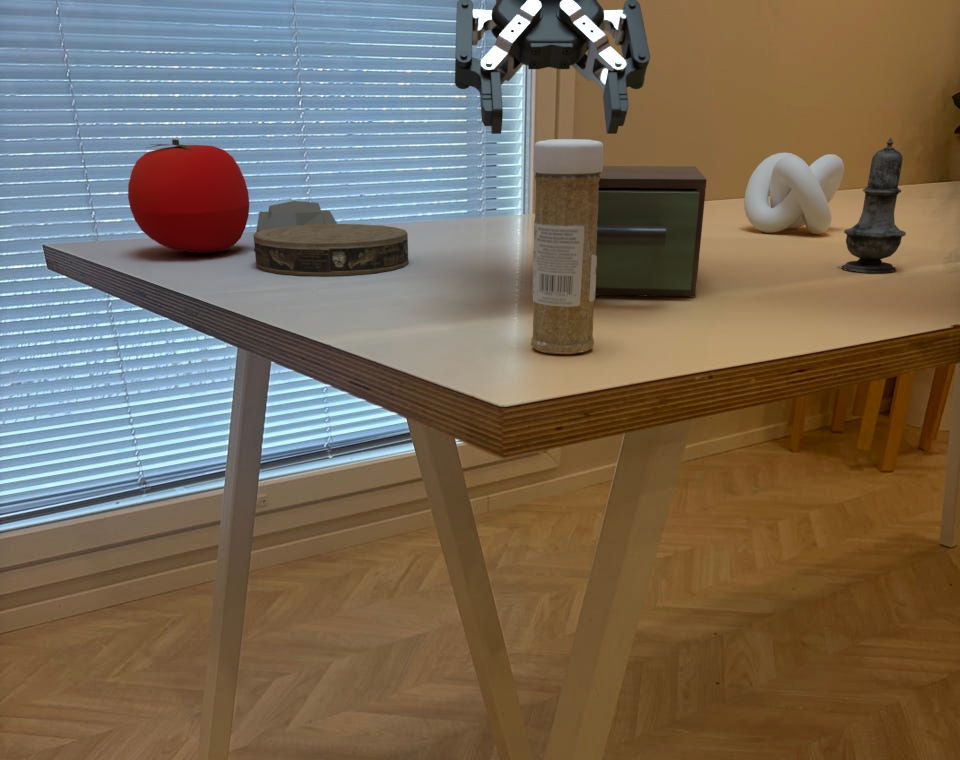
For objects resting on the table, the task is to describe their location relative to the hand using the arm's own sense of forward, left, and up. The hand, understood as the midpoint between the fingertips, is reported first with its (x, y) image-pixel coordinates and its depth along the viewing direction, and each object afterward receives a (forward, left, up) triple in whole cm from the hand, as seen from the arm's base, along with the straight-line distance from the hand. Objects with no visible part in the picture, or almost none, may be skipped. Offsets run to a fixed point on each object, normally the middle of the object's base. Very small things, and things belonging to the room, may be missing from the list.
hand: (556, 125), depth 74 cm
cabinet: (+10, -18, -14) cm, 25 cm away
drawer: (+7, -15, -13) cm, 21 cm away
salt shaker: (0, -43, -14) cm, 46 cm away
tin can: (+37, -2, -14) cm, 40 cm away
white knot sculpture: (+24, -61, -14) cm, 67 cm away
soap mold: (+57, -9, -14) cm, 60 cm away
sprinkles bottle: (-7, +5, -14) cm, 17 cm away
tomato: (+53, +6, -14) cm, 55 cm away
